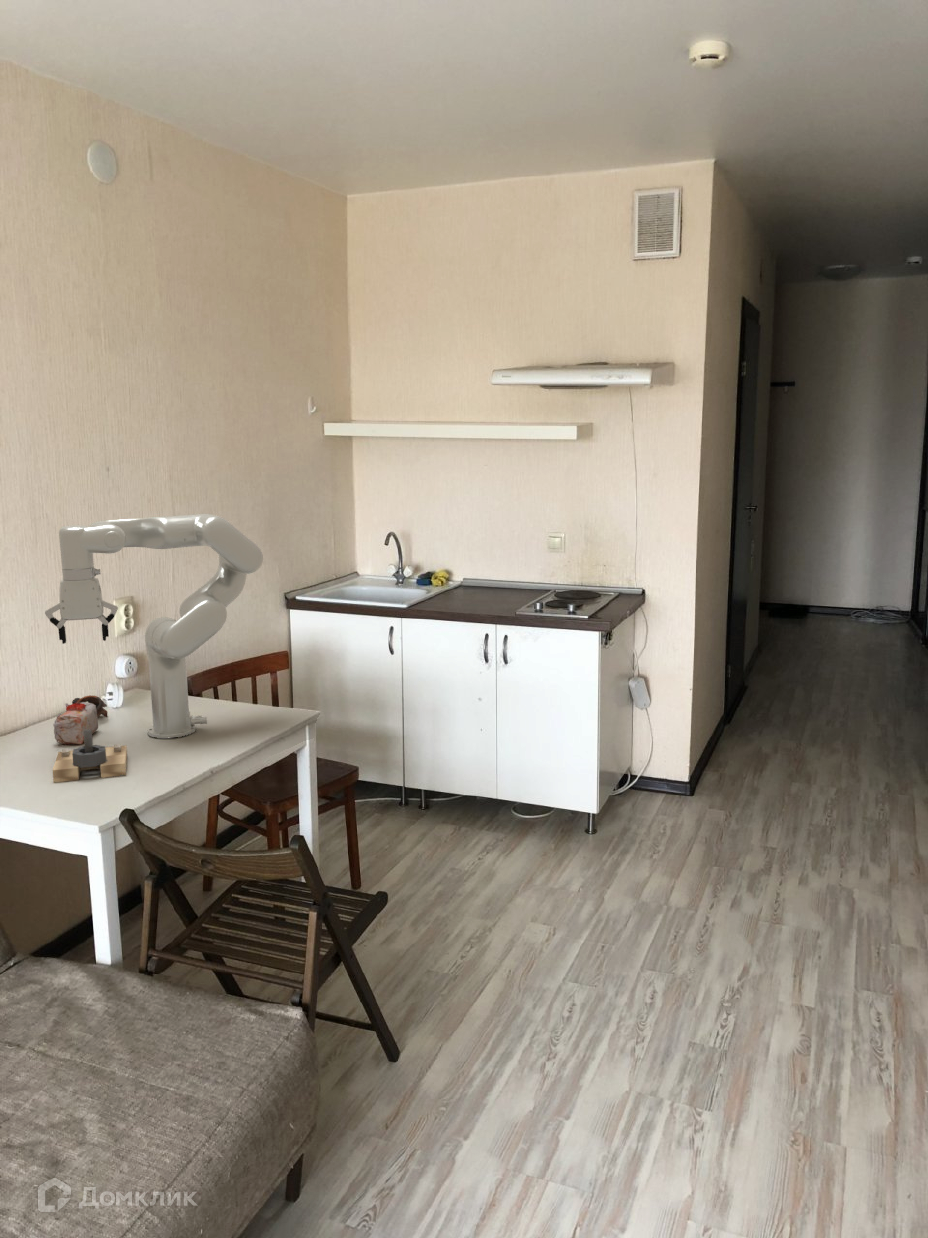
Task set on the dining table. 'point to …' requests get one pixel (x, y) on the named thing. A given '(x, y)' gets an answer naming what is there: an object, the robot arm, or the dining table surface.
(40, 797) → the dining table surface
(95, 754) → the faceted grey ring
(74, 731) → the food item
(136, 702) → the dining table surface
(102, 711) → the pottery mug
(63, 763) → the toggle switch panel
